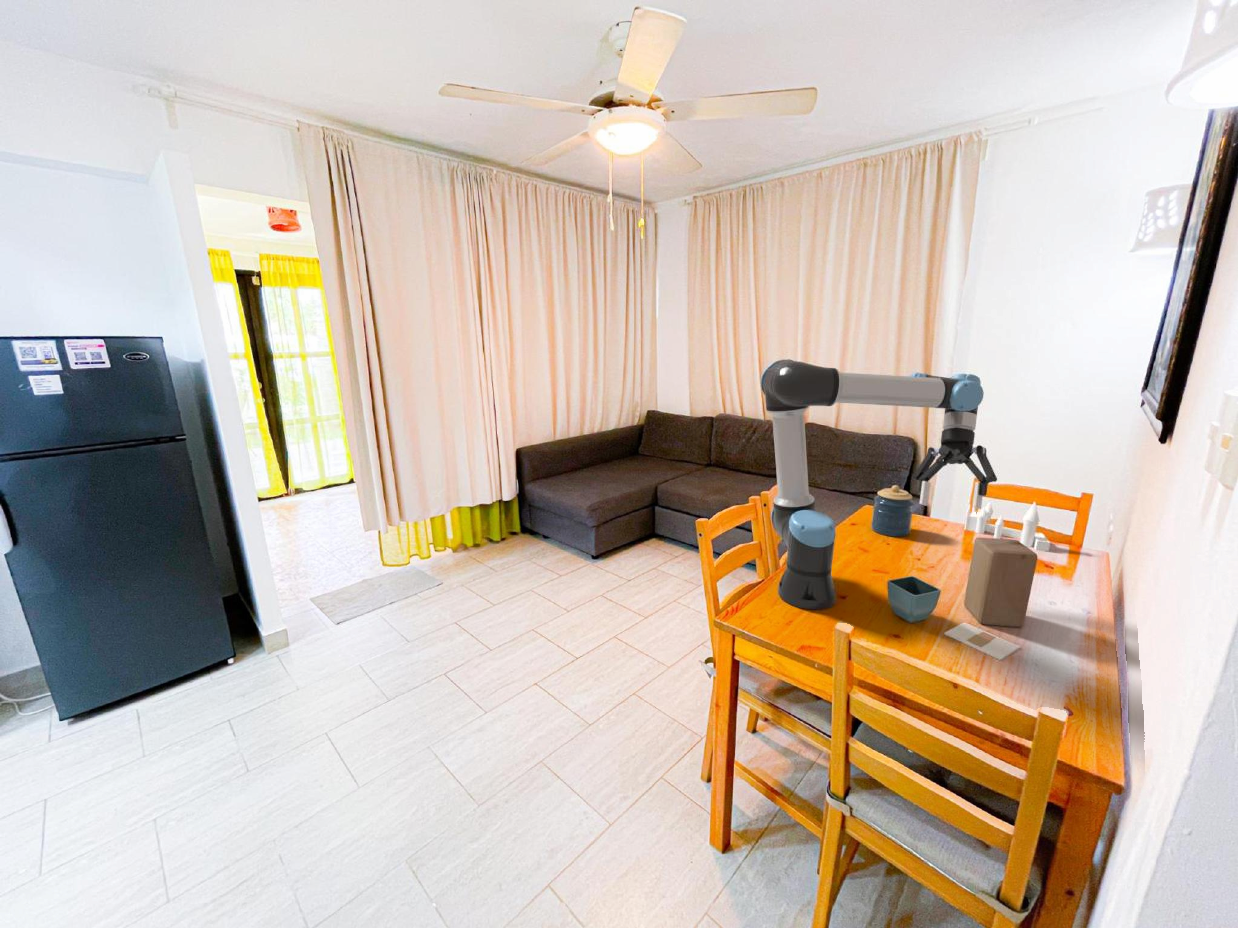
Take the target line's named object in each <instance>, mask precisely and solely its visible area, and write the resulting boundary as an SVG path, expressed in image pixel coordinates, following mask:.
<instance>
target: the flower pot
mask: <svg viewBox="0 0 1238 928" xmlns="http://www.w3.org/2000/svg"><path fill="white" fill-rule="evenodd" d="M886 583H887V584H886V585H887V598H888V603H889V606H890V607H891V610H892V611H893V612H894V614H895V615H896V616H898V617H900V618H901V619H903V620H904V621H906V622H908V623H915V622H919V621H924V620H926V619H928V618H929V617H930V616H931V615H932V613H933V612H934V611H935V610H936V607H937V604H938V602H939V598H940V596H941V593H942V590H941V589H940V588H938V587H936V586H934V585H932V584H930V583H928V582H926V581H924V580H922V579H920V578H918V577H916V576H914V575H908V576H904V577H899V578H895V579H889V580H887V581H886Z"/></svg>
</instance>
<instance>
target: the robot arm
mask: <svg viewBox="0 0 1238 928" xmlns="http://www.w3.org/2000/svg"><path fill="white" fill-rule="evenodd" d="M981 382H982V381H981V379H980V377H979V376H977V375H975V374H971V373H957V374H953V375H951V376H950V377H946V376H945V377H944V376H937V375H931V374H928V373H925V372H923V373H922V372H912V373H911V374H908V376H906V375H892V374H891V375H890V374H889V375H887V374H870V373H869V374H868V373H854V372H853V373H852V372H840V371H839V369H837V368H836V367H827V366H826V367H823V366H820V365H819V366H818V365H814V364H810V363H808V362H803V361H796V360H792V359H779V360H776V361H773V362H772V363H770V364H769V365H768V366H766V367H765V369H764V370H763V372H762V374H761V377H760V389H761V391H762V393H763V395H764V397H765V399H764V400H765V410H766V412H767V413H769V414H770V415H771V418H772V430H773V431H772V432H773V443H774V455H775V457H774V458H775V468H776V469H775V470H776V486H777V494H776V496H775V497H774V498H773V503H772V504H773V508H772V510H771V513H770V520H771V521H770V522H771V525H772V528H773V530H775V532H776V533H777V535H778V536H779V537H780V538H781V539H782V541H783V542H784V544H785V545H786V546H787V556H786V557H787V558H786V567H785V569H784V572H783V574H782V575H781V578H780V580H779V583H778V585H777V586H778V588H777V594H778V596H779V598H781V600H783V601H784V602H785V603H787V604H789V605H791V606H794V607H797V608H801V609H806V610H814V611H815V610H816V611H817V610H826V609H829V608H831V607H832V606H834V605H835V603H836V600H837V599H836V597H837V594H836V593H837V592H836V589H835V586H834V581H833V576H832V567H833V559H834V558H833V557H834V550H835V549H834V548H835V540H836V537H837V535H836V534H837V533H836V523H835V522H834V520H833V519H832V517H830V515H828V514H826V513H821V512H820V511H818V510H816V502H815V501H816V500H815V497H814V496H813V495H812V494H811V493H810V492H809V477H808V474H809V473H808V459H807V457H808V456H807V441H806V439H807V438H806V424H805V423H806V422H805V412H806V411H807V410H808V409H809V408H810V407H833V406H834V405H835V404H837V403H839V404H854V405H855V404H856V405H857V404H859V405H875V406H892V407H893V406H894V407H895V406H896V407H914V408H915V407H916V408H934V409H944V413H943V414H944V416H943V422H942V429H943V430H942V431H941V436H940V437H941V438H940V447H939V448H936V447H935V448H934V447H932V446H930V447H928V449H927V453H926V455H925V457H924V458H923V460H922V461H921V463H920V464H919V466H918V468H917V469H916V470H915V472H914V473H913V475H912V478H913V479H915V480H917V481H918V493H920V496H919V497H920V498H919V505H922V506H926V507H927V506H928V505H929V497H930V492H931V491H930V489H931V482H929V481H930V480H931V479H932V478H933V477H935V475H936V474H937V473H938V472H939V471H940V470H941V469H942V468H944V467H946V466H947V465H948V464H949V465H955V464H958V465H963V464H965V466H966V467H967V468H968V469H969V471H970V472H971V473H972V474H973V475H974V477H975V478H976V479H977V480H978V481H975V483H974V492H973V499H972V508H973V507H975V509H978V510H982V504H983V498H984V496H987V493H988V486H989V484H990V483H996V482H997V481H998V478H997V475H996V473H995V471H994V469H993V466H992V465H991V462H990V460H989V458H988V456H987V448H986V447H985V446H982V445H980V444H979V445H977V446H975V447H973V445H974V443H975V437H976V435H975V431H976V425H977V419H978V418H977V416H978V410H979V406H980V405H981V403H982V401H983V399H984V396H985V395H984V389H983V387H982V386H981ZM973 454H975V455H976V457H977V459H978V462H979V463H980V465H981V467H982V469H983V472H984V473H983V472H982V471H981V470H980V468H979V467H978V466H977V465H976V463H975V462H974V461H973V460H972V458H971V456H973ZM936 457H937V458H936ZM934 461H935V462H934ZM984 474H985V475H984Z"/></svg>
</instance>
